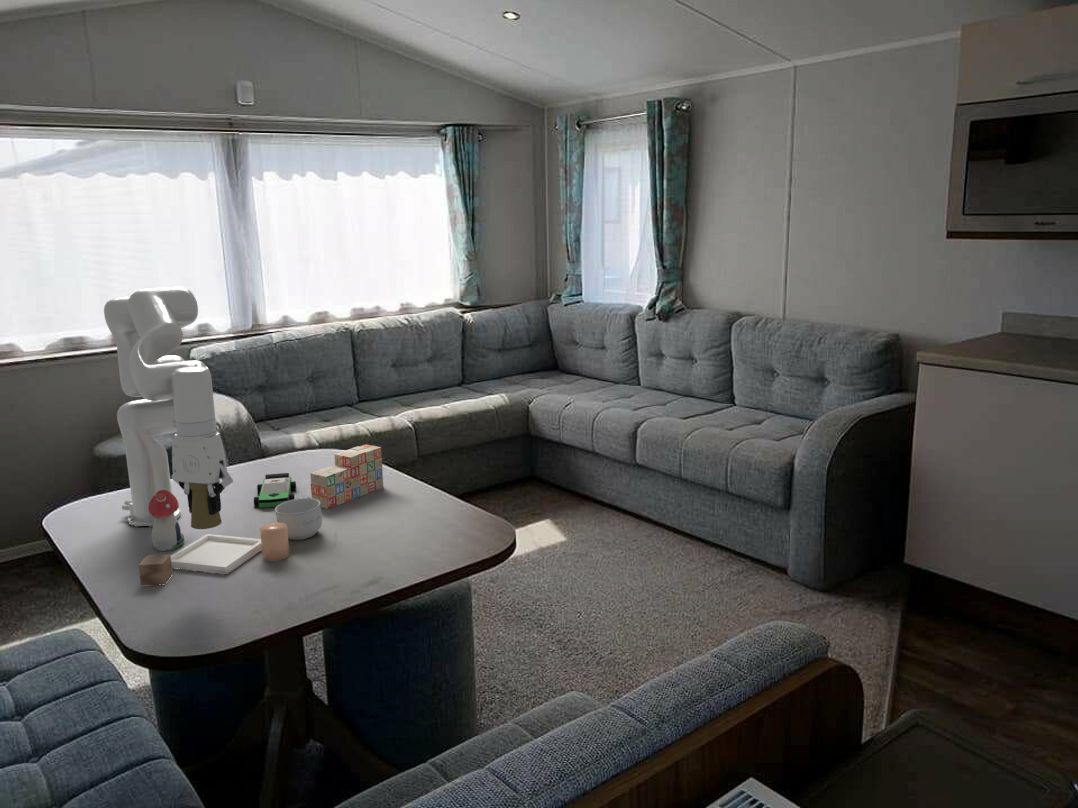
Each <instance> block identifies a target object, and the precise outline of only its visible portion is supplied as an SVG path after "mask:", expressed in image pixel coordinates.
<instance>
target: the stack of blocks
mask: <svg viewBox="0 0 1078 808" xmlns="http://www.w3.org/2000/svg"><path fill="white" fill-rule="evenodd" d="M333 455H334V464H333V465H331V466H328V467H324V468H321V469H319V470H316V471H313V472H310V474H309V475H310V490H311V491H310V492H311V498H312V499H317V500H319V501H320V503H321V505H320V507H321V509H322V508H323V509H326V510H327V509H328V510H329V509H331V508H334V507H336V506H339V505H343V504H344V503H346V502H350V501H352V500H354V499H357V498H360V497H362V496H364V495H366V494H370V493H372V492H375V491H377V490H378V491H379V490H381V489H383V488H384V478H383V475H384V474H383V457H382V456H383V455H382V447H381V446H378V445H377V446H376V445H372V444H371V445H370V444H363V445H359V446H358V445H357V446H354V447H351V448H350V449H346V450H343V451H341V452H337V453H335V454H333Z"/></svg>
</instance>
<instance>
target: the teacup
mask: <svg viewBox="0 0 1078 808" xmlns="http://www.w3.org/2000/svg"><path fill="white" fill-rule="evenodd" d="M320 505H321V503H320V501H319V500H317V499H312V497H311V496H309V495H305V496H303V497H302V498H294V500H290V501H287V502H284V503H281V504H280V505H278V506H276V507H275V508H274V512H275V516H276V522H279V523H285V524H287V529H288V540H293V541H294V540H298V541H299V540H305V539H309V538H311V537H313V536H314V535H315V534H316V533H317V532H318V531H319V530H320V529H321V527H322V523H323V517H322V507H320Z"/></svg>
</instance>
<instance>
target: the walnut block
mask: <svg viewBox="0 0 1078 808" xmlns="http://www.w3.org/2000/svg"><path fill="white" fill-rule="evenodd" d="M138 570H139V571H138V572H139V579H140V580H139V581H140V586H141V585H157V586H163V585H162V584H166V582H167V581H168V580H169V578H170V577H171V575H172V574H174V573H173V569H172V564H171V554H147V555H146V556H145V557H144V558H143V559H142V560H141V561H140V562H139V564H138ZM171 578H172V577H171ZM171 578H170V579H171ZM169 581H170V580H169ZM169 581H168V582H169ZM168 582H167V583H168ZM159 584H161V585H159ZM166 585H167V584H166Z"/></svg>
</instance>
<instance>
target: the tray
mask: <svg viewBox="0 0 1078 808" xmlns="http://www.w3.org/2000/svg"><path fill="white" fill-rule="evenodd" d="M260 552H262V545H261V538H254V537H242V536H232V535H220V534H211V533H206V534H205V535H202V536H201V537H200V538H198V539H196V540H195V541H193V542H192V543H190V544H188V545H187V546H184V547H183V548H181V549H179V550H178V551H176V552H175V553H173V554H170V556H171V564H172V568H178V569H177V570H179V568H180V569H188V570H195V571H194V572H197V571H204V572H203V573H206V572H212V573H211V574H215V573H219V574H218V575H224V574H227V575H228V574H230V573H231V572H233V571H234V570H235V569H237V568H238V567H239V566H241V565H242V564H244V563H245V562H247V561H248V560H250V559H251V558H253V557H254V556H256V555H257V554H258V553H260ZM188 570H187V571H188ZM229 572H230V573H229Z"/></svg>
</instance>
